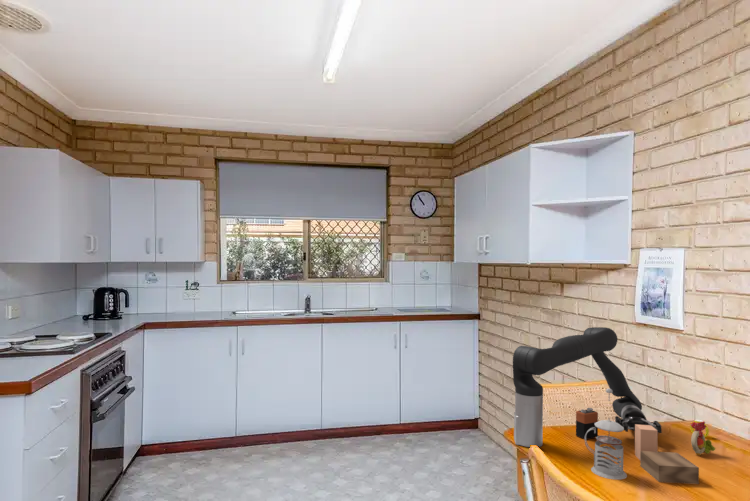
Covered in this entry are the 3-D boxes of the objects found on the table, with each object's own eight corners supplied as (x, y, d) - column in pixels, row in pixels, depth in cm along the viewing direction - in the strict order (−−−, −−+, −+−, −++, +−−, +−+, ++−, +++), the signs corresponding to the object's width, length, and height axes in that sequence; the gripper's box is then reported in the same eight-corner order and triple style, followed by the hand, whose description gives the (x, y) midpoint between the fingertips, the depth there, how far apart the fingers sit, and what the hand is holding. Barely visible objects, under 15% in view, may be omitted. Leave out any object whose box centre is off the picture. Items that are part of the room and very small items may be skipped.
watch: (689, 435, 179) (688, 418, 180) (693, 434, 180) (692, 418, 181) (706, 439, 174) (704, 422, 174) (710, 438, 175) (709, 421, 175)
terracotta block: (640, 460, 153) (640, 429, 153) (634, 454, 158) (635, 424, 158) (657, 462, 152) (657, 430, 152) (651, 456, 157) (651, 425, 157)
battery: (598, 437, 173) (598, 409, 174) (585, 440, 171) (585, 411, 171) (588, 433, 177) (588, 406, 178) (575, 436, 174) (575, 408, 175)
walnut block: (658, 483, 137) (659, 465, 138) (640, 467, 148) (640, 450, 149) (698, 485, 137) (698, 467, 137) (677, 469, 148) (677, 452, 148)
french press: (625, 482, 136) (626, 394, 137) (582, 472, 143) (582, 388, 144) (628, 470, 145) (628, 387, 146) (587, 461, 151) (587, 382, 152)
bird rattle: (709, 465, 156) (717, 448, 161) (704, 436, 154) (712, 420, 159) (687, 458, 161) (696, 442, 166) (682, 430, 158) (691, 415, 164)
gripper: (612, 404, 182) (617, 417, 166) (655, 409, 177) (664, 422, 161) (612, 424, 181) (617, 438, 166) (654, 430, 176) (664, 445, 161)
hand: (640, 430), depth 164 cm, fingers open, 8 cm apart
